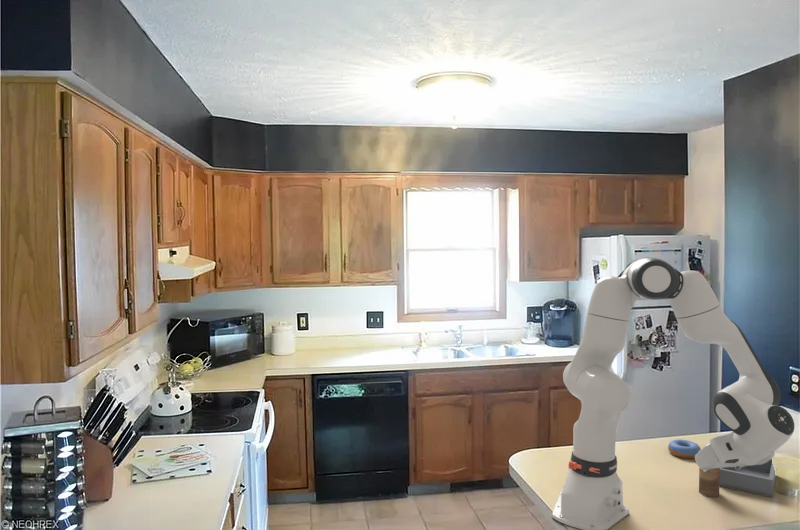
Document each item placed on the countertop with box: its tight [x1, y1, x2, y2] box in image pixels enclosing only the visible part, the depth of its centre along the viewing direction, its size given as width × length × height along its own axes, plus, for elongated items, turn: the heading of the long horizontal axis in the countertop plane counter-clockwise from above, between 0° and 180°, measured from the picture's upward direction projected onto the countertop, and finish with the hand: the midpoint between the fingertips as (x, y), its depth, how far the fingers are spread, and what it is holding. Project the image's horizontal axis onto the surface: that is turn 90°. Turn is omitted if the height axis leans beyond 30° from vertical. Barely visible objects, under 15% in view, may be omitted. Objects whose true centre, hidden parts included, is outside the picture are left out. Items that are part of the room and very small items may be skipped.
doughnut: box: [667, 439, 702, 460], centre depth 195 cm, size 10×10×5 cm
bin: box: [719, 457, 776, 498], centre depth 175 cm, size 18×14×5 cm
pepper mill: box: [698, 467, 720, 498], centre depth 166 cm, size 5×5×11 cm
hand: (719, 468), depth 162 cm, fingers open, 8 cm apart
